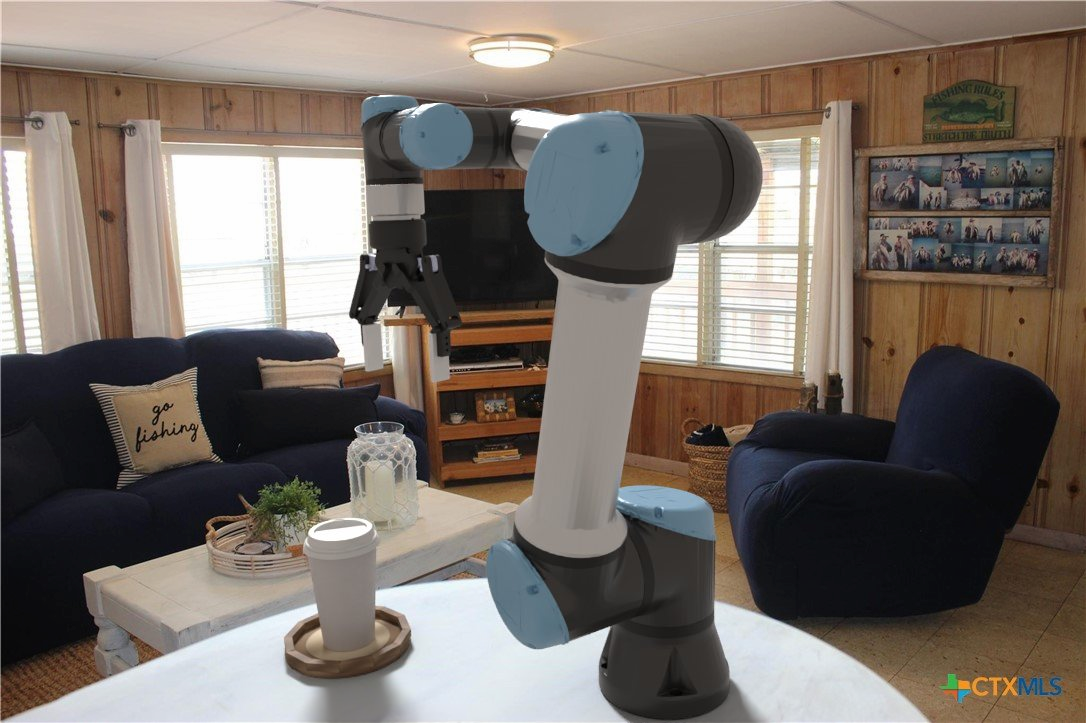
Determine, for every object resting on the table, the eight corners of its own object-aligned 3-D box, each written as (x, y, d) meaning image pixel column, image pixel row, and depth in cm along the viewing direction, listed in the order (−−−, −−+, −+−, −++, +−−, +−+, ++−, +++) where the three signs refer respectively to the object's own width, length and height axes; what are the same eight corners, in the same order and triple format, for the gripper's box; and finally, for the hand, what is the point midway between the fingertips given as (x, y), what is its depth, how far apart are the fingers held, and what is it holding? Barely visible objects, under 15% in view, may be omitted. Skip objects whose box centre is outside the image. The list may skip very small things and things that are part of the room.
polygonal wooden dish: (435, 639, 117) (434, 627, 116) (336, 693, 105) (335, 678, 105) (359, 606, 127) (358, 594, 126) (260, 651, 115) (259, 638, 115)
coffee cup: (395, 622, 120) (387, 515, 117) (374, 659, 110) (365, 543, 108) (326, 621, 121) (317, 515, 118) (299, 657, 112) (289, 543, 109)
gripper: (484, 216, 114) (491, 380, 118) (360, 217, 130) (369, 361, 134) (441, 218, 108) (449, 390, 112) (316, 219, 124) (328, 370, 128)
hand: (406, 375), depth 123 cm, fingers open, 13 cm apart
